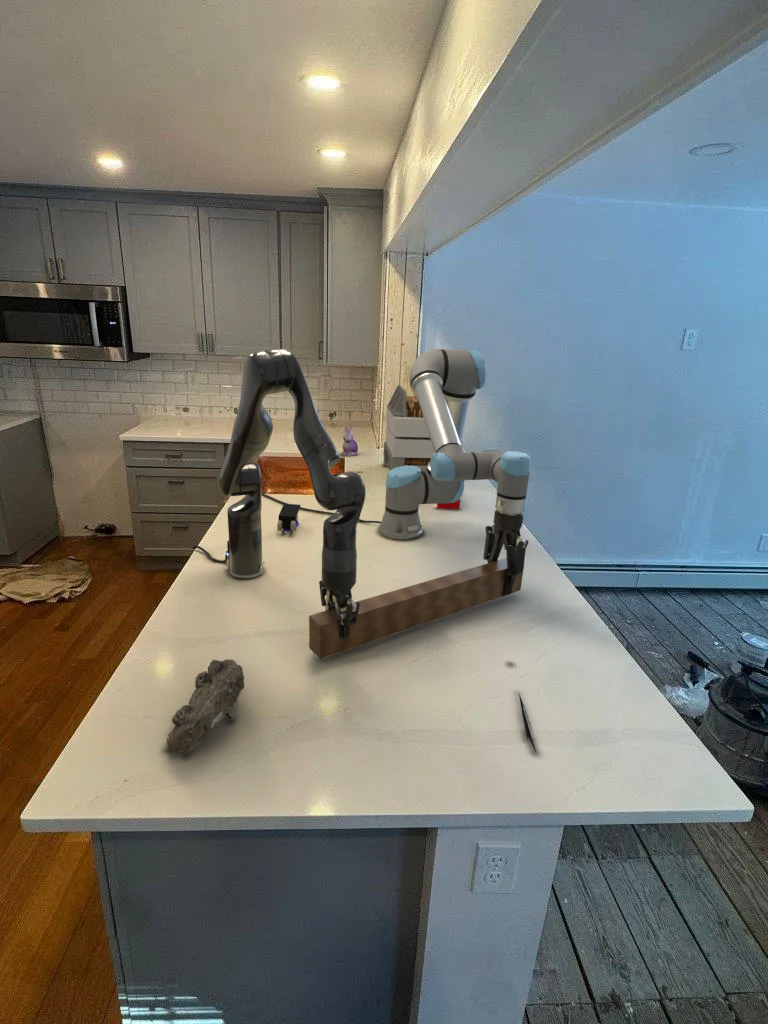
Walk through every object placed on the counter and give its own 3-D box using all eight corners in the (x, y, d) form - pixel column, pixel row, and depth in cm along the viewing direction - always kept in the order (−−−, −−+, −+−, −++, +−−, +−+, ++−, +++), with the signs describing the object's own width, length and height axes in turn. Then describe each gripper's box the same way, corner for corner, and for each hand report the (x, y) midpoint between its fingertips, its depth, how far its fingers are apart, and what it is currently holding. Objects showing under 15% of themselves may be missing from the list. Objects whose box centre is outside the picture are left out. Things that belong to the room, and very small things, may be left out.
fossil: (192, 660, 117) (244, 628, 112) (224, 691, 120) (276, 661, 115) (142, 746, 98) (202, 712, 93) (182, 779, 101) (242, 748, 96)
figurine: (345, 456, 298) (346, 428, 293) (338, 452, 306) (338, 424, 301) (361, 455, 302) (362, 427, 297) (353, 451, 310) (354, 424, 305)
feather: (511, 668, 129) (516, 662, 128) (535, 756, 102) (542, 749, 102) (505, 664, 129) (510, 658, 128) (527, 751, 102) (534, 744, 101)
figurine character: (296, 541, 193) (301, 521, 206) (295, 521, 189) (301, 502, 203) (276, 540, 193) (283, 520, 206) (275, 520, 189) (282, 501, 203)
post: (507, 583, 162) (510, 556, 159) (520, 590, 158) (524, 563, 156) (309, 648, 128) (309, 615, 125) (319, 659, 124) (319, 626, 121)
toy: (454, 466, 251) (466, 476, 222) (452, 496, 254) (463, 510, 225) (427, 466, 251) (435, 475, 222) (425, 495, 254) (433, 509, 224)
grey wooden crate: (382, 463, 289) (386, 382, 275) (445, 464, 293) (451, 384, 279) (390, 482, 257) (394, 392, 243) (460, 483, 261) (468, 394, 247)
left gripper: (308, 554, 125) (308, 621, 131) (341, 580, 114) (339, 652, 120) (337, 548, 129) (336, 613, 135) (372, 572, 118) (369, 642, 124)
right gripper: (475, 503, 154) (467, 580, 162) (525, 524, 140) (514, 607, 148) (494, 499, 158) (486, 574, 166) (545, 519, 144) (533, 600, 152)
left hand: (338, 631), depth 128 cm, fingers closed on post, 5 cm apart
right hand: (499, 589), depth 157 cm, fingers closed on post, 5 cm apart
